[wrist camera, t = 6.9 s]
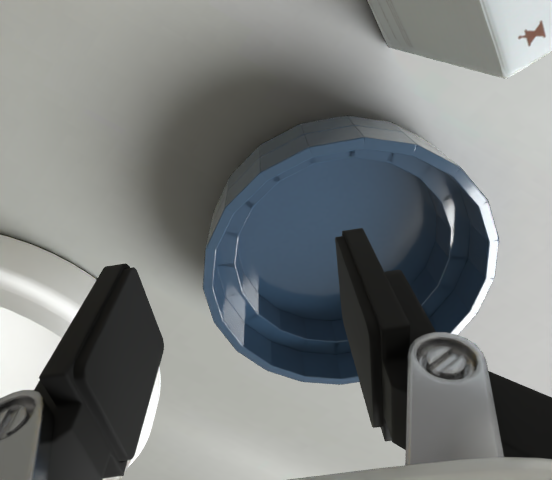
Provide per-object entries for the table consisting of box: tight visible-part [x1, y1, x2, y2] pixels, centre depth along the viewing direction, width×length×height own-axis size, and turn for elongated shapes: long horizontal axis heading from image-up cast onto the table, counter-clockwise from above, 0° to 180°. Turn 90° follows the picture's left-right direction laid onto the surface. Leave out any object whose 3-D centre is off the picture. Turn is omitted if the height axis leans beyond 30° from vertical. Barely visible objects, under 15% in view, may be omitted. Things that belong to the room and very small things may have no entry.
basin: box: [203, 115, 499, 385], centre depth 27 cm, size 17×17×6 cm
